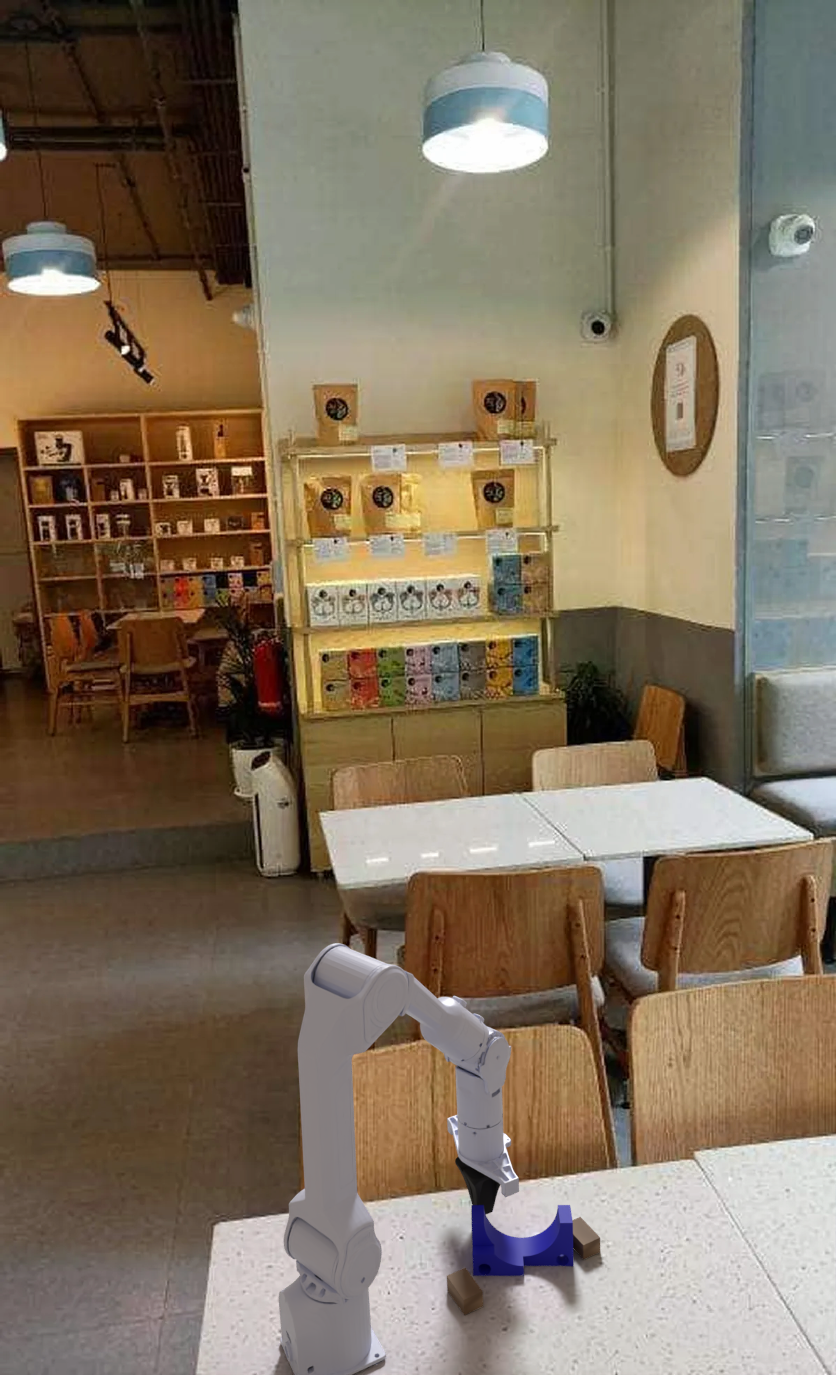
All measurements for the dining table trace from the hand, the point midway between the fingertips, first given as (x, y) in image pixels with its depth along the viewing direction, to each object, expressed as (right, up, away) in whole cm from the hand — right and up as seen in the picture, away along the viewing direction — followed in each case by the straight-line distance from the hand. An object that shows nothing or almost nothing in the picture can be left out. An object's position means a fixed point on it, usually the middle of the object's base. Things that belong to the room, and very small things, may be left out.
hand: (483, 1211), depth 121 cm
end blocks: (+4, -3, -8) cm, 10 cm away
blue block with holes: (+4, -3, -7) cm, 8 cm away
